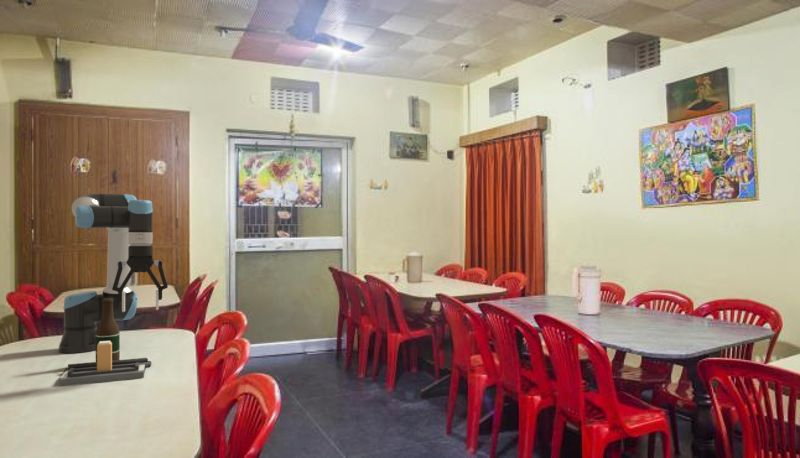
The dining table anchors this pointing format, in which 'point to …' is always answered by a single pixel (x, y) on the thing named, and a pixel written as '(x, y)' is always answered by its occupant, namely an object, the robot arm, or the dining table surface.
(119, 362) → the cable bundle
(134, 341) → the dining table surface
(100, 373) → the grey rectangular tray
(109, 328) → the beer bottle
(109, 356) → the block
